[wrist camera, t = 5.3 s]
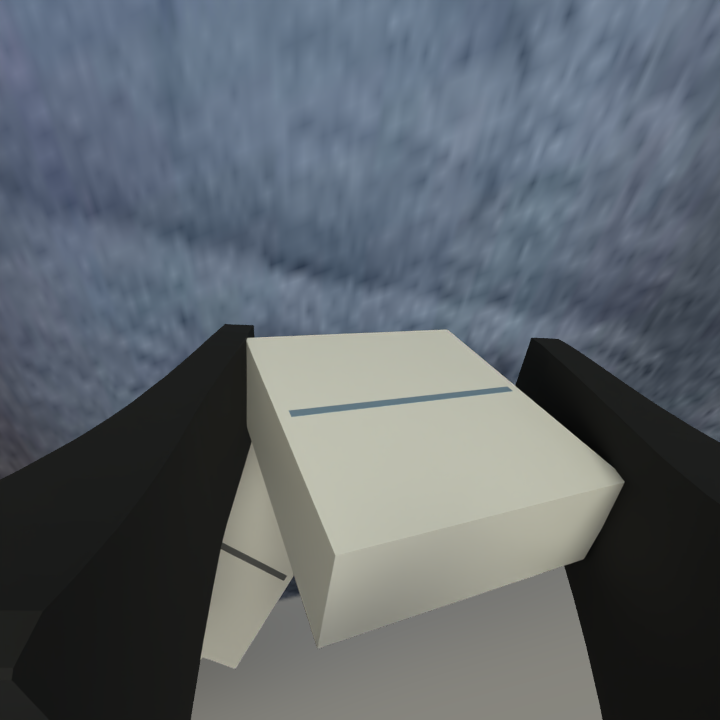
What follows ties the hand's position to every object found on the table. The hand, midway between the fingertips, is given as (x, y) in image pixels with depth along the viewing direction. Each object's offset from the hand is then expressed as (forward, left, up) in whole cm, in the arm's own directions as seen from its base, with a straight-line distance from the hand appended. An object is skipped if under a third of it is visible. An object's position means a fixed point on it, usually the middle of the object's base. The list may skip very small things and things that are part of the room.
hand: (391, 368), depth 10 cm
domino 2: (+1, +1, 0) cm, 1 cm away
